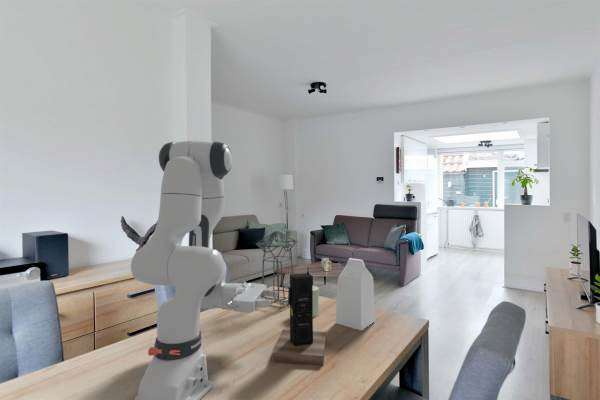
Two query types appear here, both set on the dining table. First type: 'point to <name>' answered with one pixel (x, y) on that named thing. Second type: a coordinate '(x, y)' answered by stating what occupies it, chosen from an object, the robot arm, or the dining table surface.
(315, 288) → the can
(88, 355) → the dining table surface
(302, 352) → the walnut plinth
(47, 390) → the dining table surface
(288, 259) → the geometric lantern
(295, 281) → the portable radio
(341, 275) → the milk
